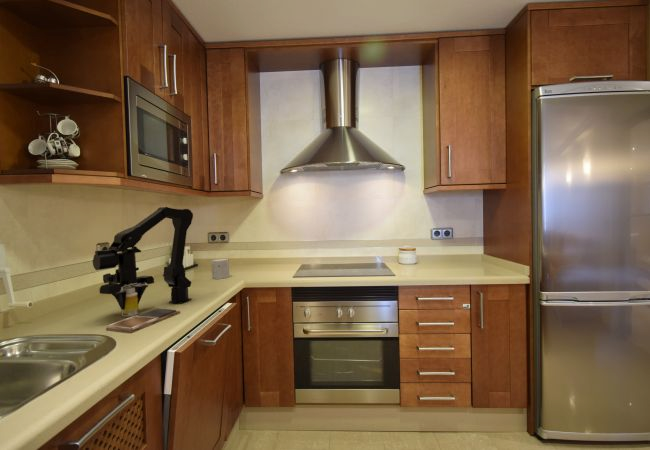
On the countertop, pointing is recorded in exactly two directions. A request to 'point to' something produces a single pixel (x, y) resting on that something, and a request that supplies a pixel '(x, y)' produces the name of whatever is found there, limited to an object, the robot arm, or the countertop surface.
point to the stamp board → (141, 320)
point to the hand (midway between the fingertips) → (129, 307)
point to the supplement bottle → (130, 302)
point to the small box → (220, 269)
